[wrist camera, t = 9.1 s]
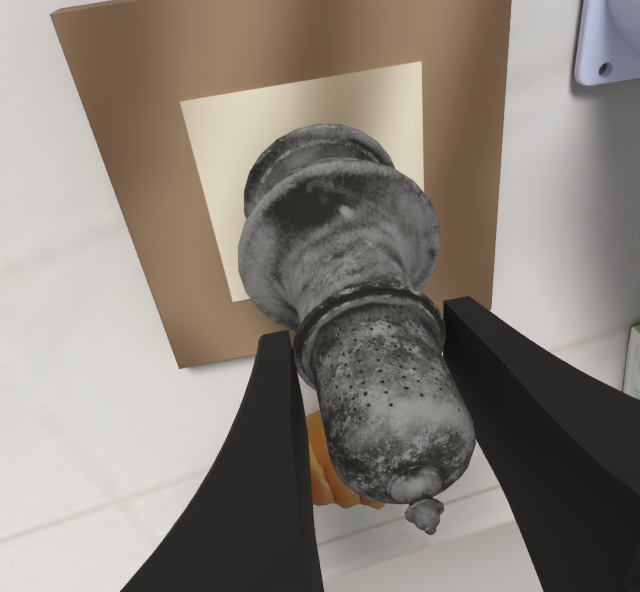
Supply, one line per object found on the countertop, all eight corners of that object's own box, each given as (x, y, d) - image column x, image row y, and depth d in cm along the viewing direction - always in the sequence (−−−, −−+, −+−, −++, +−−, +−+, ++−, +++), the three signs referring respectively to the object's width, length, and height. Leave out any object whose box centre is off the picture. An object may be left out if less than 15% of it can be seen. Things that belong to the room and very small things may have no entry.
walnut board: (499, -61, 18) (516, -60, 17) (481, 294, 26) (492, 311, 25) (60, 8, 17) (48, 14, 16) (180, 351, 25) (179, 370, 24)
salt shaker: (356, 291, 21) (469, 626, 12) (208, 243, 19) (199, 607, 10) (440, 156, 18) (680, 455, 9) (278, 81, 16) (365, 371, 7)
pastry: (280, 491, 32) (286, 552, 29) (249, 411, 28) (251, 472, 25) (438, 452, 32) (460, 509, 29) (427, 367, 28) (452, 422, 25)
